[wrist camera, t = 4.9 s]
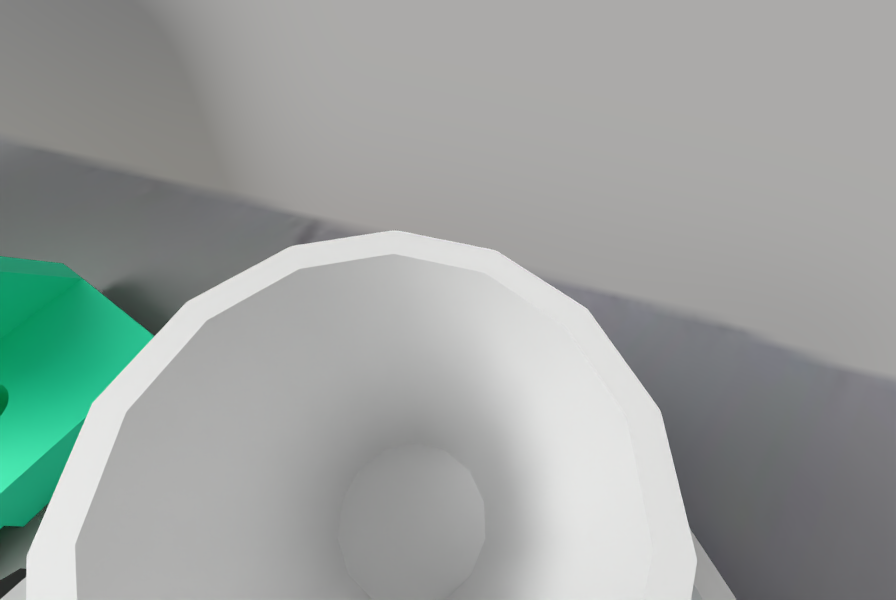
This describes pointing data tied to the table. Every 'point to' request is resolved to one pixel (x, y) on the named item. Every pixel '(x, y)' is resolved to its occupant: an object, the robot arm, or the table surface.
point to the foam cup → (371, 444)
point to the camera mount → (51, 374)
